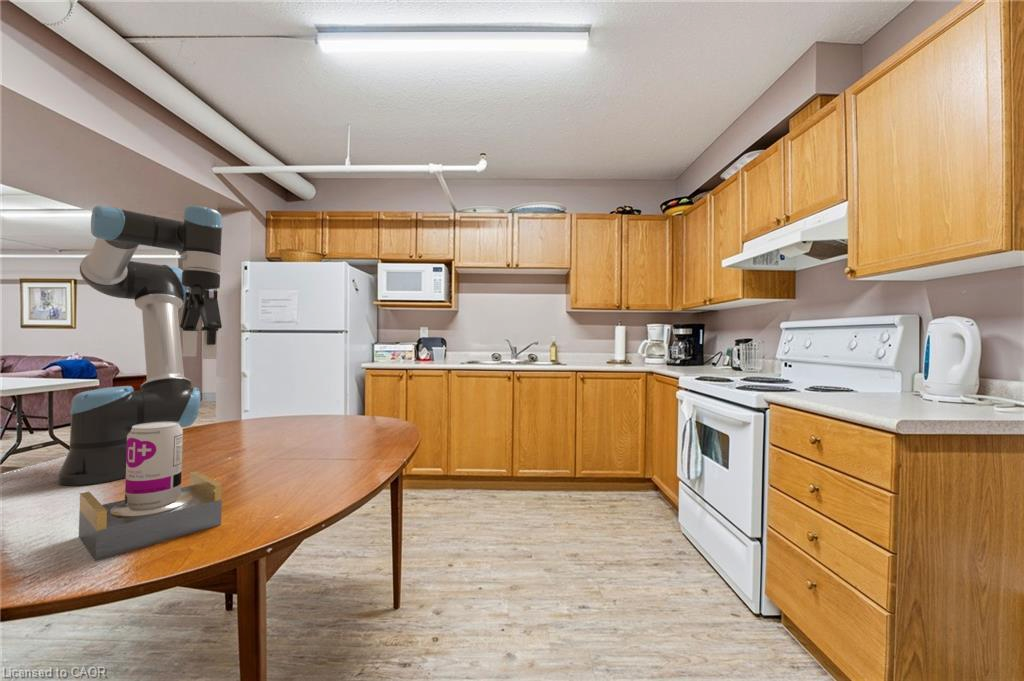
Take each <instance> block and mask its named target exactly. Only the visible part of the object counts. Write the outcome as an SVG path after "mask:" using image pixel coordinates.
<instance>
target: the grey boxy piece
mask: <svg viewBox="0 0 1024 681" xmlns="http://www.w3.org/2000/svg"><path fill="white" fill-rule="evenodd" d="M222 496H223V484H222V483H220V482H218V481H216V480H214V479H213V478H211V477H210V476H207V475H206V474H204V473H201V472H200V471H198V470H195V471H190V472H189V485H188V486H184V487H182V486H181V496H179V497H178V498H177V500H176V501H174V502H172V503H170V504H168V505H164V506H161V507H157V508H151V509H141V510H136V509H131V508H129V507H128V506H126V505H125V499H123V500H117V501H114V502H108V503H104V504H101V502H100V500H98V499H97V498H96V497H95V496H94V495H93V494H92V492H90V491H85V492H81V493H79V512H78V513H79V516H78V538H79V539H80V541H81V543H82V544H83V545H84V547H85V548H86V549H87V551H88V553H89V554H90V556H91V557H92V558H93V560H94V561H95V562H98V561H102V560H104V559H108V558H111V557H115V556H118V555H121V554H124V553H128V552H131V551H136V550H138V549H142V548H145V547H149V546H151V545H155V544H159V543H162V542H166V541H170V540H172V539H175V538H179V537H183V536H186V535H190V534H194V533H196V532H199V531H203V530H207V529H210V528H214V527H218V526H221V525H222V505H223V504H222V503H223V501H222V500H223V497H222ZM97 560H98V561H97Z"/></svg>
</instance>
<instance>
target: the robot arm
mask: <svg viewBox="0 0 1024 681" xmlns="http://www.w3.org/2000/svg"><path fill="white" fill-rule="evenodd" d="M182 218H183V221H180V220H176V219H171V218H168V217H163V216H162V217H160V216H157V215H150V214H145V213H142V212H141V213H140V212H136V211H131V210H126V209H121V208H119V207H109V206H104V205H96V206H94V207H93V208H92V210H91V218H90V233H91V234H92V236H93V237H95V242H94V244H93V247H92V249H91V251H90V253H89V254H87V255H86V256H84V258H82V260H81V261H80V265H79V274H80V277H81V278H82V279H83V281H84V282H85V283H86V284H87V285H88V286H90V287H91V288H92V289H93V290H96V291H98V292H100V293H102V294H103V295H106V296H109V297H112V298H113V297H114V298H117V299H127V300H129V299H130V300H134V306H135V307H136V308H138V309H140V310H141V311H142V314H141V315H142V316H141V317H142V328H143V344H144V345H143V346H144V356H145V369H146V371H145V372H146V381H144V382H143V383H142V384H140V390H134V389H135V388H134V387H133V385H132V386H131V385H123V386H122V385H120V386H111V387H109V386H108V387H103V388H97V389H96V388H95V389H91V390H86V391H82V392H79V393H76V394H75V395H74V396H73V398H72V399H71V407H70V410H69V415H70V431H69V434H70V436H69V449H68V450H69V451H68V454H67V456H66V458H65V460H64V462H63V464H62V467H61V468H60V470H59V472H58V481H57V483H58V484H60V485H62V486H85V485H86V486H87V485H95V484H101V483H109V482H113V481H117V480H121V479H126V454H127V435H128V434H129V432H130V431H131V429H132V426H134V425H138V424H144V423H152V422H179V425H180V426H181V428H182V429H183V428H188V427H190V426H191V425H193V424H194V423H195V422H196V420H197V417H198V415H199V410H200V406H201V391H200V389H199V388H198V387H195V386H193V387H192V381H191V379H189V378H187V377H185V370H184V361H183V360H184V359H183V357H197V347H198V345H197V344H198V342H197V341H198V339H197V338H198V332H199V328H198V323H199V321H200V317H201V322H202V325H203V326H201V329H200V331H201V332H202V336H201V337H202V338H201V339H202V340H201V342H202V343H201V359H202V360H207V359H208V360H217V349H218V348H217V347H218V332H219V329H222V327H223V326H222V319H221V314H220V309H219V308H220V307H219V303H218V302H219V301H218V289H220V286H221V274H220V272H221V271H222V254H221V253H222V234H223V233H222V232H223V221H222V220H223V219H222V214H221V213H220V212H219V211H218V210H216V209H213V208H210V207H205V206H198V205H189V206H187V207H185V209H184V213H183V217H182ZM139 246H147V247H153V248H159V249H160V248H161V249H167V250H173V251H177V252H178V253H181V254H180V256H179V257H180V259H182V268H183V269H184V270H182V269H181V268H179V267H178V266H177V267H176V266H171V265H167V264H156V263H147V262H139V261H133V260H132V258H133V256H134V254H135V253H136V251H137V249H138V247H139ZM189 288H191V291H189ZM182 307H183V310H182V315H181V320H179V313H178V312H179V309H180V308H182ZM181 329H182V341H181V333H180V330H181Z"/></svg>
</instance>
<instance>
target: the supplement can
mask: <svg viewBox="0 0 1024 681" xmlns="http://www.w3.org/2000/svg"><path fill="white" fill-rule="evenodd" d="M183 432H184V429H183V427H182V428H181V426H180V425H179V422H152V423H144V424H138V425H134V426H132V429H131V431H130V432H129V434H128V435H127V454H126V477H125V483H124V484H125V489H124V491H125V493H124V500H125V505H126V506H128V507H129V508H131V509H136V510H141V509H151V508H157V507H161V506H164V505H168V504H170V503H172V502H174V501H176V500H177V498H178V497H179V496H181V488H182V472H183V470H182V468H183V467H182V466H183V440H184V439H183V438H184V436H183V434H184V433H183Z"/></svg>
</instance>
